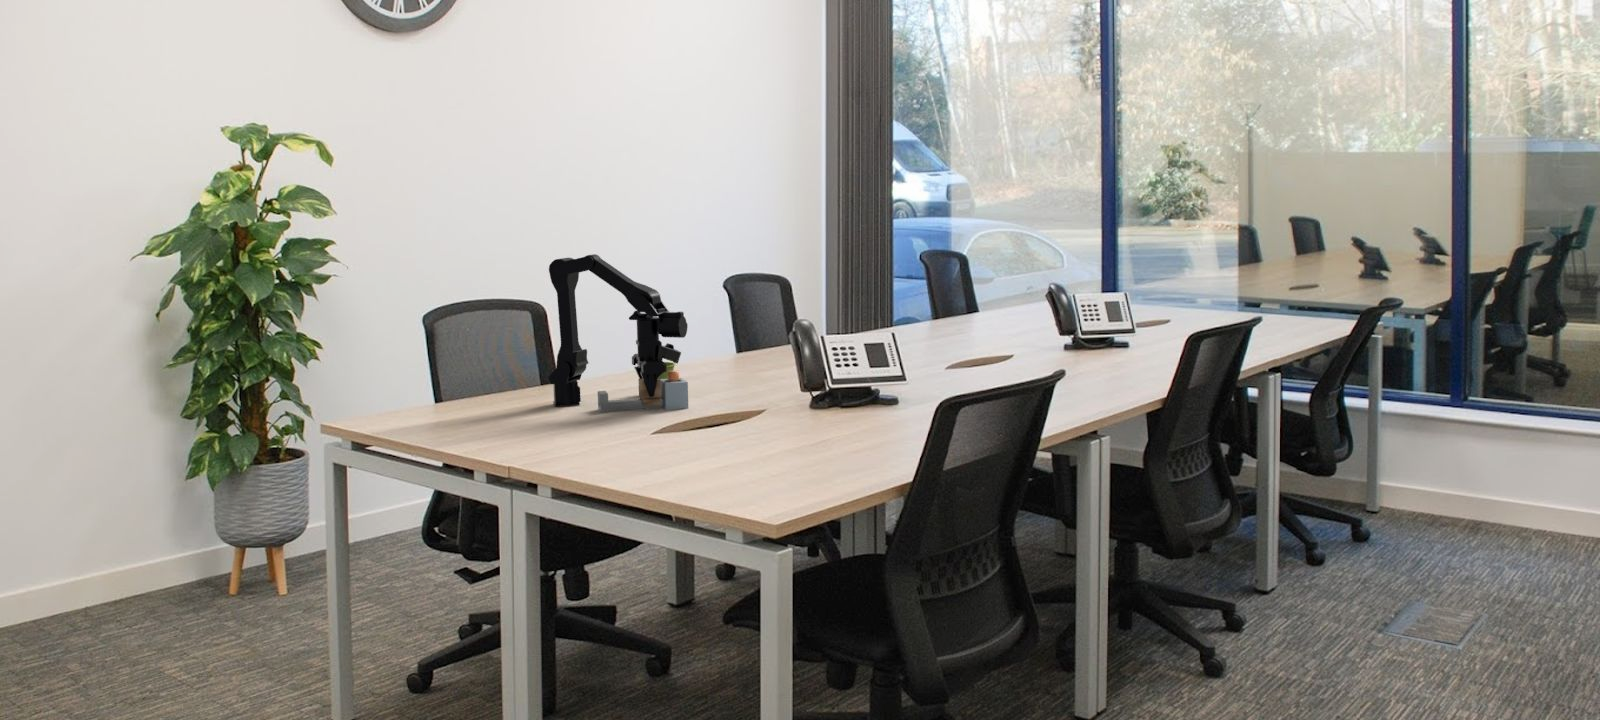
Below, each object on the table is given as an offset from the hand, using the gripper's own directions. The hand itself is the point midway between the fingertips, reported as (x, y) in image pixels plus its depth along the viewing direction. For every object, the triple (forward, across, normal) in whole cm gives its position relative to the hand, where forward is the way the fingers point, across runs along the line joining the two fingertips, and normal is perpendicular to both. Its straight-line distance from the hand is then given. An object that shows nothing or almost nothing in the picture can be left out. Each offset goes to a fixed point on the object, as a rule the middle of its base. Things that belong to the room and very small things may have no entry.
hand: (649, 395), depth 365 cm
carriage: (+2, 0, 0) cm, 2 cm away
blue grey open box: (+4, 0, -6) cm, 7 cm away
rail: (+4, 0, +4) cm, 5 cm away
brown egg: (-2, 0, -6) cm, 7 cm away
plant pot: (+4, +21, -6) cm, 22 cm away
